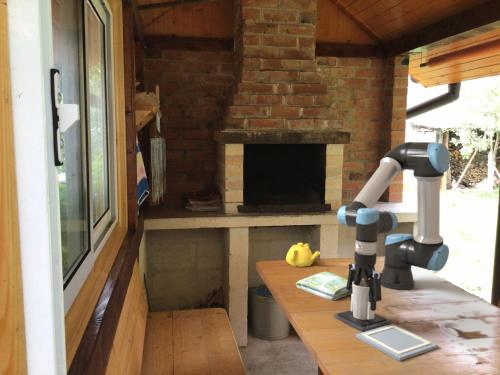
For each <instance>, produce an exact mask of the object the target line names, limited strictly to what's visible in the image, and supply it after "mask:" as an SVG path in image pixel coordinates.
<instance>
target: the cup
mask: <svg viewBox="0 0 500 375" xmlns="http://www.w3.org/2000/svg"><path fill="white" fill-rule="evenodd" d="M352 288H353V316H354V317H355V318H357V319H361V320H368V319H367V311H368V301H369V300H370V298H369V287H367V284H366V282H365V280H364V279H362V280H361V282H360V285H359V286H356V285H354V281H353V282H352ZM373 298H374V297H373Z"/></svg>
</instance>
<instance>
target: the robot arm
mask: <svg viewBox="0 0 500 375" xmlns="http://www.w3.org/2000/svg"><path fill="white" fill-rule="evenodd" d="M450 164H451V155H450V151H449V149H448V148H447V146H446V145H445V144H443V143H440V142H431V141H430V142H429V141H427V142H426V141H425V142H424V141H423V142H422V141H421V142H419V141H417V142H415V141H406V142H403V143H400V144H398V145H395V146H394V147H393V148H392V149H390V150H389V151H388V152H386V154H384V155H383V157H382V158H381V159H380V161H379V167H378V168H377V169H376V170H375V172H374V173H373V174H372V176H371V177H370V178H369V180H368V181H367V182H366V183H365V185H364V186H363V187H362V188H361V190H360V192H359V193H358V194H357V195H356V196H355V198H354V200H353V201H352V202H351V203H350V205H343V206H340V208H339V209H338V211H337V216H336V219H337V221H338V222H339V224H341V225H343V226H346V227H351V228H355V243H354V244H355V245H354V251H355V252H354V258H353V259H354V263H349V264H348V274H347V286H346V289H347V290H349V291H350V294H349V295H350V297H349V298H350V299H349V300H350V310H351V311H352V312H353V288H352V282H353V281H354V285H356V286H359V285H360V282H361V280H364V281H365V282H366V284H367V287H369V298H370V300H369V301H368V311H367V319H368V320H369V319H373V318H374V313H375V311H376V310H377V302H380V301H382V287H384V288H388V289H391V290H397V291H398V290H401V291H402V290H403V291H405V290H406V291H407V290H411V289H414V288H415V284H416V283H415V280H414V275H413V271H412V267H416V268H419V269H420V268H421V269H424V270H427V271H434V272H439V271H441V270H443V268H444V267H445V266H446V264H447V262H448V259H449V255H450V248H449V245H447V244H444V238H443V237H442V236H441V235H440V217H441V216H440V215H441V213H440V211H441V210H440V209H441V208H440V206H441V204H440V202H441V201H440V200H441V197H440V196H441V194H440V193H441V192H440V191H441V186H440V185H441V182H440V181H441V179H442V178H443V177H444V176H445V173H446V172H448V170H449V168H450ZM406 170H409V171H412V172H413V177H414V178H415V179H416V181H417V187H416V188H417V196H416V197H417V198H416V199H417V234H416V235H413V234H412V233H391V234H389V235H386V237H385V243H384V245H385V247H384V263H383V268H382V270H381V272H378V271H376V268H375V265H376V263H377V256H378V255H377V252H378V236H379V234H384V233H388V232H389V233H390V232H391V231H394V230H395V229H396V228H397V226H398V223H399V220H398V217H397V215H396V214H395V213H394V212H393V211H391V210H383V211H379V210H378V209H376V208H374V206H375V205H376V203H378V201H379V199H380V198H381V196H382V195H383V194H384V192H385V191H386V190H387V188H388V187H389V185H390V184H391V183H392V181H393V180H394V178H395V177H396V176H399V175H400V174H401V173H402V172H403V171H406ZM373 297H374V298H373Z"/></svg>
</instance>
